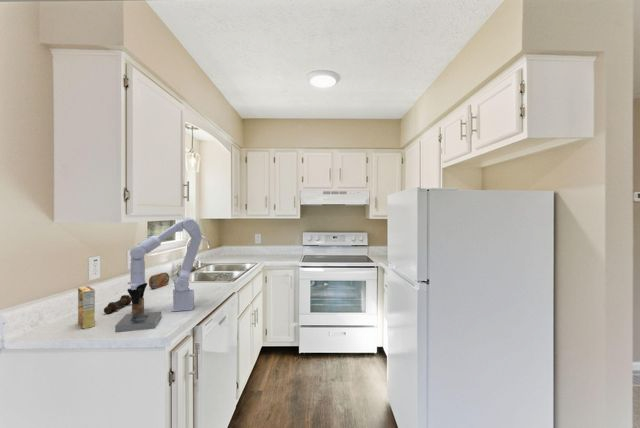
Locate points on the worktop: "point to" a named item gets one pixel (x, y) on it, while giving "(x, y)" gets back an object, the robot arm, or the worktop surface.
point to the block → (138, 307)
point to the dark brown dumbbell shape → (118, 304)
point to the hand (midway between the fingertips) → (137, 301)
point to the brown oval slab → (158, 280)
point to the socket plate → (138, 321)
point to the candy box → (86, 307)
